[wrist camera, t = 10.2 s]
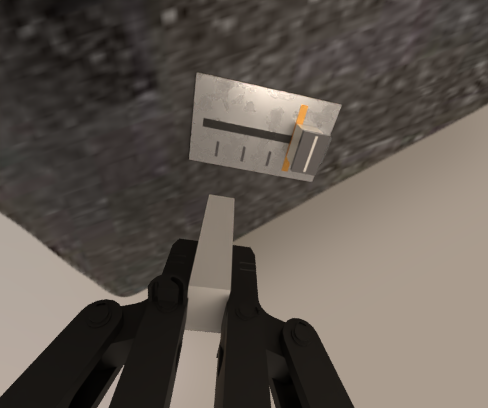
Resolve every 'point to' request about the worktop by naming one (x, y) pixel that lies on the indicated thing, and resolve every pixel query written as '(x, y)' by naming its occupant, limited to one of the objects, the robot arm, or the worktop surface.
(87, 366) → the robot arm
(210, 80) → the panel
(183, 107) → the worktop surface
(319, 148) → the fader
